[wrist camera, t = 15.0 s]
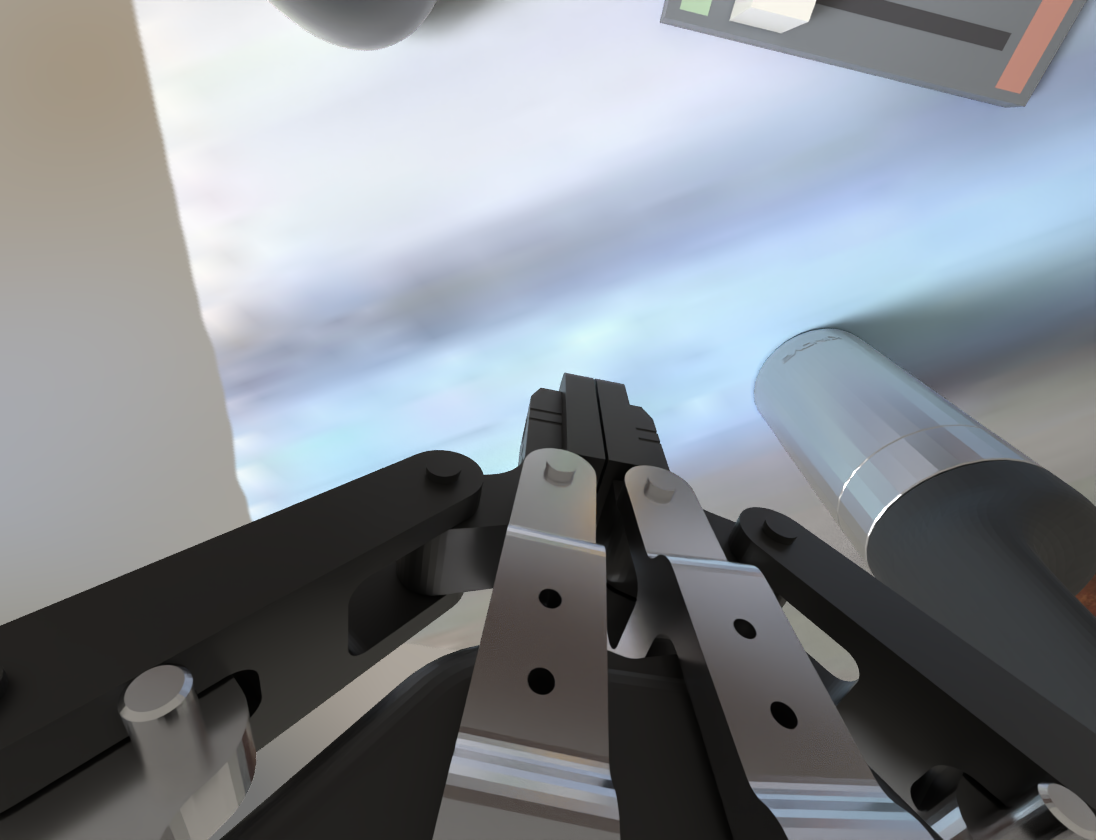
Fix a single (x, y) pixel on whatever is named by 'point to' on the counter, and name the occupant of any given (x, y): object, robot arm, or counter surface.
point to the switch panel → (913, 40)
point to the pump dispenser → (357, 20)
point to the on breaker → (772, 13)
